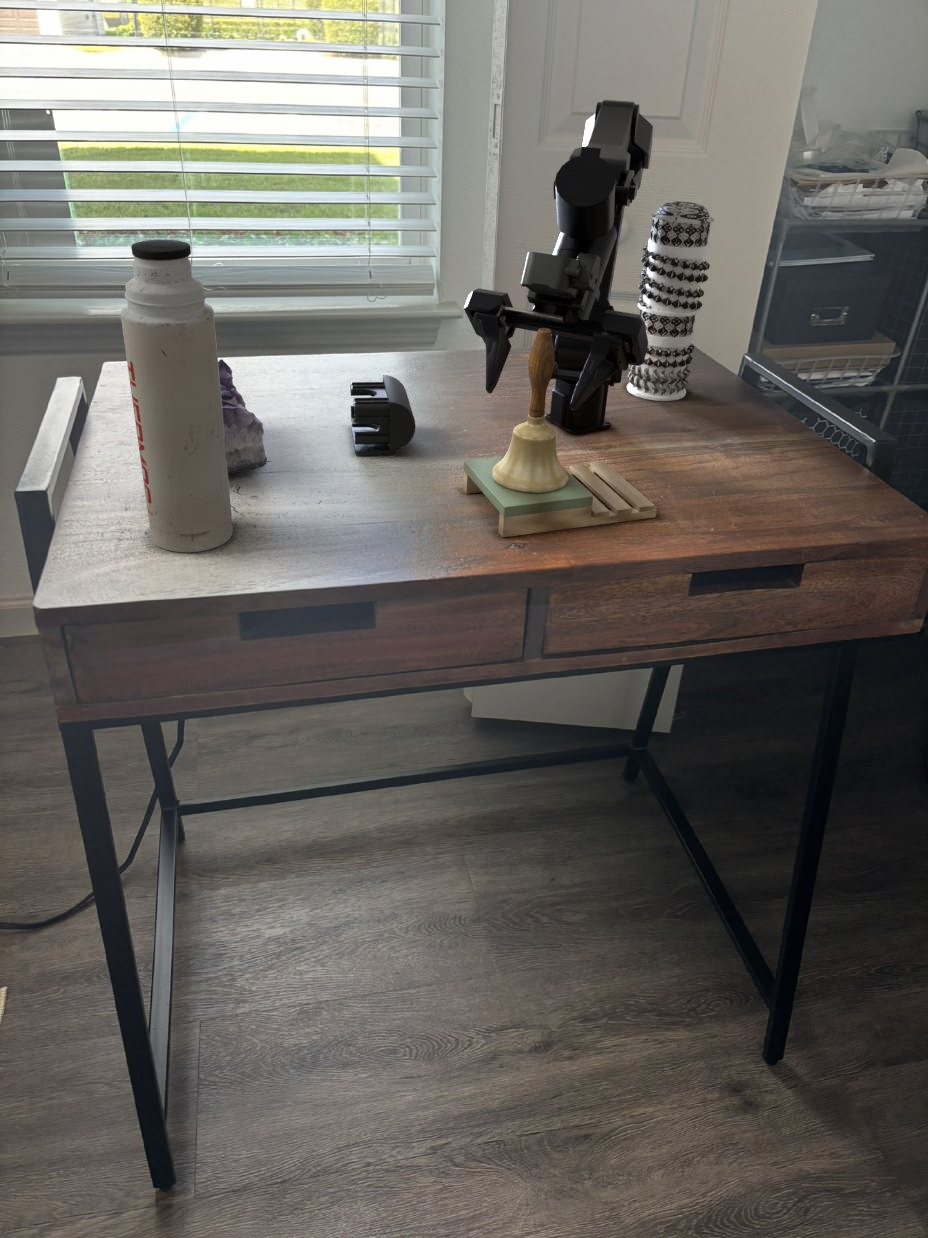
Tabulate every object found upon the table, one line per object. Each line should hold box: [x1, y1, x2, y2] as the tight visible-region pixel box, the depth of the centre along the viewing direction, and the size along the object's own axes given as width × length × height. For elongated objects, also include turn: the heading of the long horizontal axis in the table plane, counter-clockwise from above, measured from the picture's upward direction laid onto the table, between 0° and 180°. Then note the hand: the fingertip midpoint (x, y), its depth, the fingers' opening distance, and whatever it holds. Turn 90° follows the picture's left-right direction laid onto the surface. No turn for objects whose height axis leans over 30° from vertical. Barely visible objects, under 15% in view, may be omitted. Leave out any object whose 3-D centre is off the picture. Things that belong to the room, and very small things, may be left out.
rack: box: [462, 456, 658, 538], centre depth 109 cm, size 18×12×4 cm, turn 110°
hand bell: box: [492, 328, 569, 493], centre depth 103 cm, size 8×8×16 cm
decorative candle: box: [626, 201, 715, 402], centre depth 136 cm, size 9×9×25 cm
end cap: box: [349, 374, 417, 457], centre depth 121 cm, size 10×7×7 cm
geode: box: [218, 358, 268, 475], centre depth 115 cm, size 20×12×10 cm, turn 19°
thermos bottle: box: [120, 238, 234, 553], centre depth 93 cm, size 8×8×28 cm
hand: (529, 399), depth 102 cm, fingers open, 9 cm apart
